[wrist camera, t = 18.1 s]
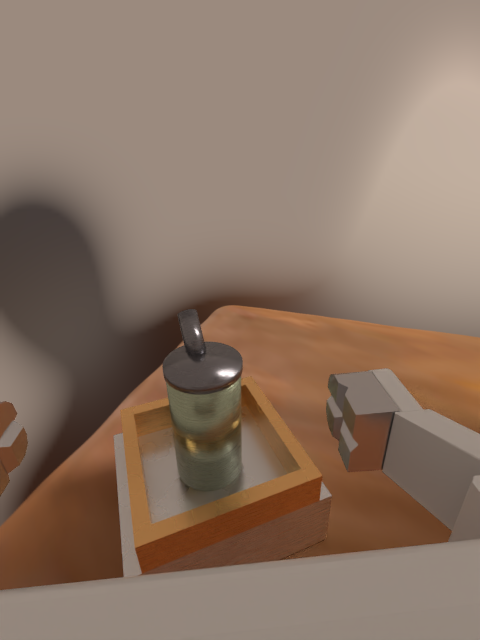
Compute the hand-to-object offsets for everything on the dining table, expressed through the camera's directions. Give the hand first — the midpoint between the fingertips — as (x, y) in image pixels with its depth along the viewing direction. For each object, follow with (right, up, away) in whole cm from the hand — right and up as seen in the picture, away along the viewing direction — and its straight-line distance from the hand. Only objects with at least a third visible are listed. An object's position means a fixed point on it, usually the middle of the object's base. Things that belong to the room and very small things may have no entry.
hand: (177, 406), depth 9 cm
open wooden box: (-1, -13, +21) cm, 25 cm away
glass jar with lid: (-1, -9, +18) cm, 20 cm away
